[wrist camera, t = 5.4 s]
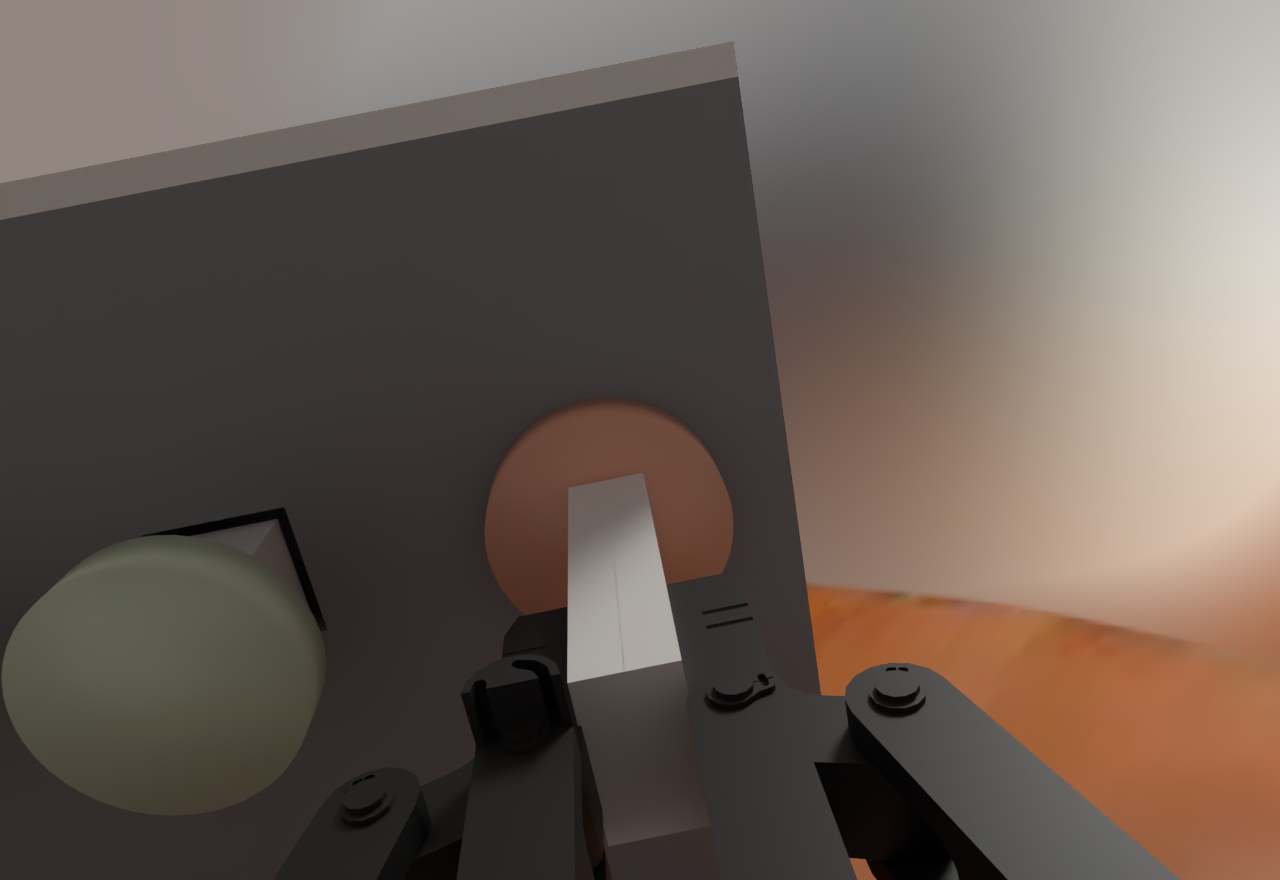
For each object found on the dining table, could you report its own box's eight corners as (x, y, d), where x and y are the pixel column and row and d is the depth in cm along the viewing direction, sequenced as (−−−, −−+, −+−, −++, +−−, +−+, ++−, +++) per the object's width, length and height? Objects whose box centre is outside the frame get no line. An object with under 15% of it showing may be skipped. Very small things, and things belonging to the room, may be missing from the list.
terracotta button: (749, 616, 19) (713, 393, 18) (516, 663, 19) (457, 444, 17) (717, 529, 23) (685, 341, 21) (524, 569, 23) (475, 382, 21)
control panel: (847, 894, 24) (733, 41, 17) (-71, 1084, 23) (-593, 298, 16) (792, 743, 29) (689, 58, 22) (51, 895, 29) (-296, 249, 22)
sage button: (345, 784, 17) (255, 540, 15) (71, 840, 16) (-51, 600, 15) (387, 654, 20) (320, 449, 19) (166, 698, 20) (78, 497, 19)
